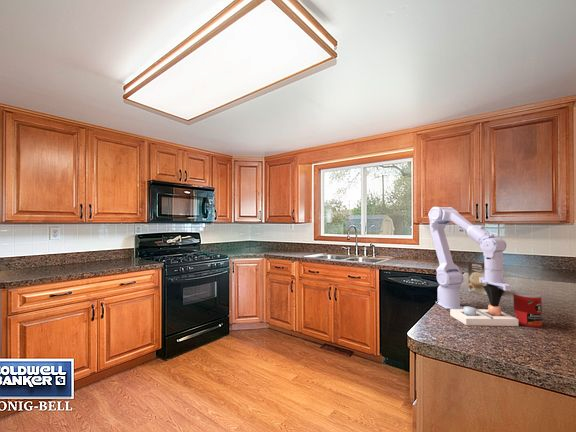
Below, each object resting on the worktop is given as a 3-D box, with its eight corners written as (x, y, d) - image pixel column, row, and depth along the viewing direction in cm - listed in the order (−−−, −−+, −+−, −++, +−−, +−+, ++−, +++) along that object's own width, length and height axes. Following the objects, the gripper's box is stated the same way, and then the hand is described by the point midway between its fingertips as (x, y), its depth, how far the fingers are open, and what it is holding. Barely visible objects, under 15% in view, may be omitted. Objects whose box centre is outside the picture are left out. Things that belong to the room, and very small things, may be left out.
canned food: (531, 328, 97) (530, 296, 97) (508, 320, 105) (507, 291, 105) (548, 326, 99) (547, 295, 99) (524, 319, 107) (523, 290, 107)
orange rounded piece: (485, 313, 107) (485, 304, 107) (496, 313, 107) (496, 304, 107) (492, 317, 103) (492, 307, 103) (504, 317, 103) (503, 307, 103)
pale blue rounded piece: (461, 315, 108) (461, 306, 108) (472, 315, 108) (472, 306, 108) (467, 319, 104) (467, 309, 104) (478, 319, 104) (478, 309, 104)
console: (450, 315, 111) (450, 307, 112) (497, 315, 111) (496, 308, 111) (466, 325, 100) (466, 316, 101) (518, 326, 100) (518, 317, 100)
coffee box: (467, 291, 148) (467, 261, 149) (474, 290, 152) (473, 260, 152) (487, 295, 141) (486, 263, 141) (493, 293, 144) (492, 262, 144)
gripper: (471, 266, 113) (471, 300, 113) (496, 272, 99) (496, 311, 98) (489, 266, 113) (490, 300, 112) (516, 272, 98) (517, 311, 98)
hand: (494, 305), depth 105 cm, fingers closed
